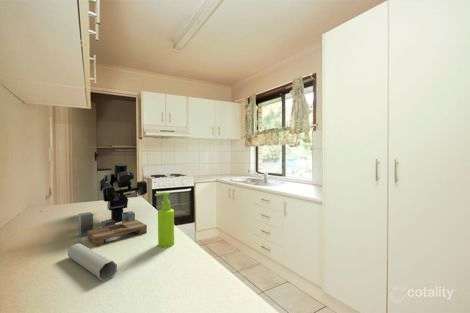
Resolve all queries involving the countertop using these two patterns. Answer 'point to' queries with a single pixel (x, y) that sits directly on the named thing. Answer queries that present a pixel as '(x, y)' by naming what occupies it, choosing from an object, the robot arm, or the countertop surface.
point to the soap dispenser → (165, 222)
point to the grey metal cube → (108, 223)
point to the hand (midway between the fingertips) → (131, 196)
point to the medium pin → (128, 216)
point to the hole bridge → (106, 232)
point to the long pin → (85, 223)
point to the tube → (93, 261)
